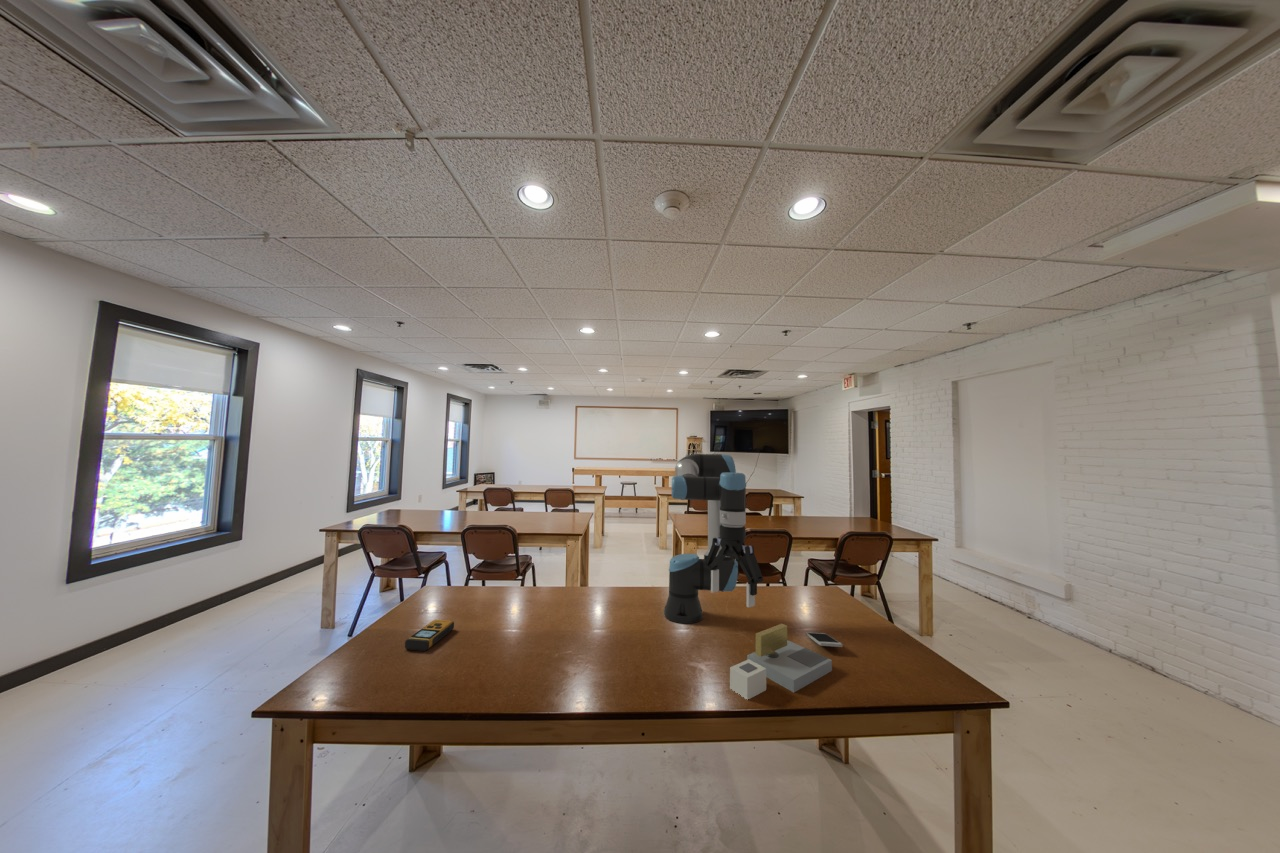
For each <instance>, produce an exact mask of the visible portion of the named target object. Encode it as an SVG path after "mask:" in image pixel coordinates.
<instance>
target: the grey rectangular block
mask: <svg viewBox="0 0 1280 853" xmlns="http://www.w3.org/2000/svg"><path fill="white" fill-rule="evenodd" d="M729 689H730V690H731V689H732V690H731V691H732V692H734V691H735V692H734V693H736V694H737V693H738V694H737V695H739V694H740V695H741V696H740V695H739V696H740V697H741V698H743V697H744V698H743V699H745V700H746V699H747V700H746V701H748V699H749V700H750V699H752V698H754V697H755V696H758V695H759V694H761V693H763V692H766V690H767V677H766V668H764V667H762V666H760V665H759V664H757V663H755V662H753V661H751V660H749V659H748V660H747V659H746V660H743V661H741V662H740V663H737V664H734V665H732V666H730V667H729Z"/></svg>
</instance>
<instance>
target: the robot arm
mask: <svg viewBox="0 0 1280 853" xmlns="http://www.w3.org/2000/svg"><path fill="white" fill-rule="evenodd" d="M734 460H735V459H734V458H733V456H731V455H729V454H722V453H720V454H719V453H717V454H716V453H714V454H713V453H706V454H705V453H704V454H703V453H695V454H694V453H693V454H689V455H687V456H684V457H682V458H680V459H679V460H678V461H677V462H676V464H675V467H674V472H675V475H674V476H672V478H671V498H673V499H675V500H682V501H684V500H686V501H687V500H689V501H691V500H693V501H695V500H696V501H698V500H699V501H707V550H706V551H705V552H704V554H703V558H700V556H699V555H698V554H696V553H683V554H682V553H681V554H677V555H673V556H672V557H671V558H670V560H669V567H668V572H669V574H668V580H669V581H668V596H667V600H666V603H665V606H664V609H663V615H665V616H664V617H665V618H666V619H667V620H668V619H669V621H671V622H674V623H677V624H678V623H679V624H694V623H698V622H700V621H701V620H702V619H703V614H704V613H703V609H702V605H701V601H700V598H699V591H710V593H711V594H713V593H717V592H721V593H722V592H733V591H734V590H735V589H736V587H737V582H738V576H739V575H738V574H739V566H740V567H741V569H742V571H743V573H744V576H745V577H746V579H747V581H748V582H746V608H752V607H755V606H756V595H757V594H758V584H759V583H763V582H764V577H763V575H762V571H761V568H760V565H759V563H758V560H757V557H756V555H755V548H754V546H753V545H752V544H751V545H746V544H745V540H746V538H747V536H746V532H747V531H746V526H745V525H747V524H746V523H747V521H746V520H747V519H746V517H747V515H746V501H747V500H746V497H747V496H746V493H747V492H746V491H747V483H746V482H747V480H746V478H747V477H746V475H745V473H742V472H737V470H736V465H735V461H734Z"/></svg>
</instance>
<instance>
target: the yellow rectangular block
mask: <svg viewBox="0 0 1280 853" xmlns="http://www.w3.org/2000/svg"><path fill="white" fill-rule="evenodd" d="M787 640H788V625H786V624H783V623H779V624H777V625H775V626H772V627H768V628H767V629H764V630H761V631H759V632H755V652H756V655H758V656H760V657H762V656H764V655H767V654H771V655H774V654H775V651H776V650H778V649H780V648H783V647H785V646H787Z"/></svg>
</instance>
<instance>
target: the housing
mask: <svg viewBox="0 0 1280 853" xmlns="http://www.w3.org/2000/svg"><path fill="white" fill-rule="evenodd" d="M748 659H749V660H751V661H753V662H755V663H757V664H759V665H760V666H762V667H764V668H766V679H769V680H771V681H772V682H774V683H776V684H778V685H780V686H781V687H783V688H785V689H787V691H790V692H792V693H795V692H798V691H799V690H801V689H803V688H804V687H807V686H808V685H810V684H811V683H814V682H815V681H817V680H818V679H820V678H822V677H823V676H824V677H825V675H827V674H829V673H830V672H832V671H833V660H832V659H830V658H828V657H826V655H825V656H824V655H822V654H820V653H817V652H816V651H814V650H811V649H808V648H807V647H804V646H801V645H799V644H797V643H796V642H793V641H791V640H788V639H787V646H785V647H783V648H780V649H778V650H776V651H775V654H774V655H771V654H767V655H764V656H762V657H760V656H758V655H756V651H753V652H750V653H749V654H747V655H746V660H748Z"/></svg>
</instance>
